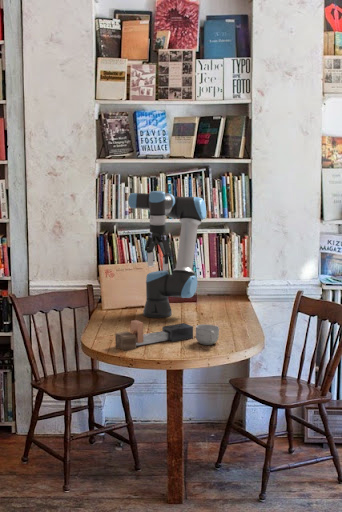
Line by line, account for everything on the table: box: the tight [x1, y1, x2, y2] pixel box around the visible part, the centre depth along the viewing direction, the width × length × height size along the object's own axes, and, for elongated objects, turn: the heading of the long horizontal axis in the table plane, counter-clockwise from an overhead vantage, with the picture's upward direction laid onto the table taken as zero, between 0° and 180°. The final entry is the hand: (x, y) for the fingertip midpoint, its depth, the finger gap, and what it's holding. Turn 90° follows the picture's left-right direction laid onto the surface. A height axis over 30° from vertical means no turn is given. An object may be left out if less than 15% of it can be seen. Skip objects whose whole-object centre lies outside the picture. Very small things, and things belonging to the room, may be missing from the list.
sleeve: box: [161, 322, 194, 343], centre depth 348 cm, size 8×12×6 cm, turn 123°
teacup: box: [195, 323, 220, 346], centre depth 337 cm, size 14×11×8 cm
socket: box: [114, 330, 137, 352], centre depth 333 cm, size 8×6×6 cm
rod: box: [130, 319, 170, 347], centre depth 340 cm, size 6×28×11 cm, turn 123°
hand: (157, 268), depth 353 cm, fingers open, 13 cm apart
